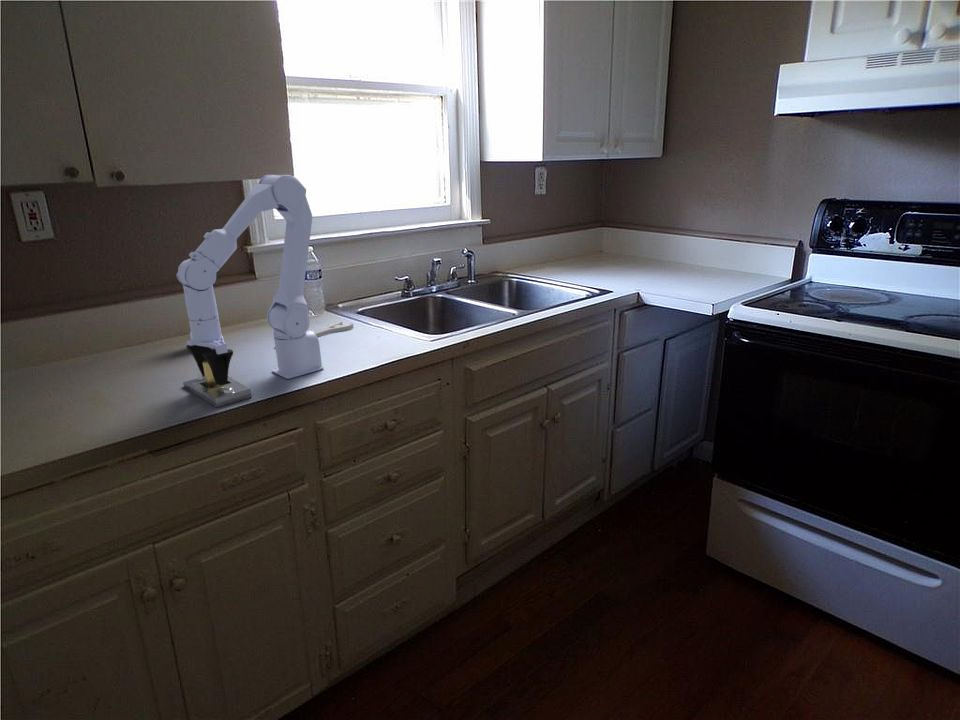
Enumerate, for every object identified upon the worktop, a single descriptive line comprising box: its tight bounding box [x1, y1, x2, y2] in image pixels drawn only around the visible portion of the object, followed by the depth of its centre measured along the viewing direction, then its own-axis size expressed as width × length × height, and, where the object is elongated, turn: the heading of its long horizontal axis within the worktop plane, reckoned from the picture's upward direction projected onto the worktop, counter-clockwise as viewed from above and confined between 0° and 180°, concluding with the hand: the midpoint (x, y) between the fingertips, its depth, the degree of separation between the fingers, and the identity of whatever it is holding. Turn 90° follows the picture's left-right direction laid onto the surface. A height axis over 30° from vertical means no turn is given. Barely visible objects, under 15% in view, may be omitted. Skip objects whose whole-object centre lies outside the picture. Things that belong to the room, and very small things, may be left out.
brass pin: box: [203, 360, 225, 389], centre depth 134 cm, size 4×4×7 cm
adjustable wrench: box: [313, 321, 354, 338], centre depth 174 cm, size 25×6×2 cm, turn 138°
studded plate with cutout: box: [182, 372, 252, 408], centre depth 135 cm, size 7×18×2 cm, turn 44°
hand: (214, 378), depth 134 cm, fingers open, 7 cm apart
